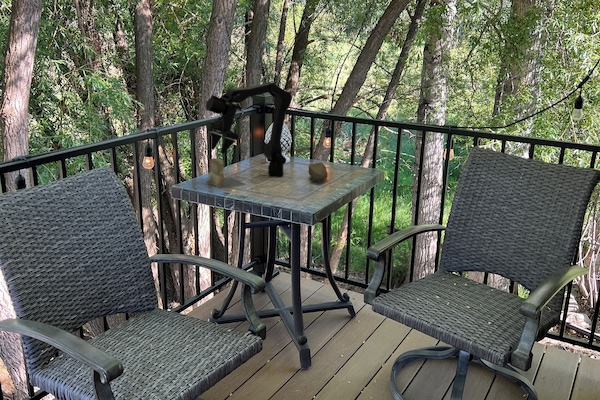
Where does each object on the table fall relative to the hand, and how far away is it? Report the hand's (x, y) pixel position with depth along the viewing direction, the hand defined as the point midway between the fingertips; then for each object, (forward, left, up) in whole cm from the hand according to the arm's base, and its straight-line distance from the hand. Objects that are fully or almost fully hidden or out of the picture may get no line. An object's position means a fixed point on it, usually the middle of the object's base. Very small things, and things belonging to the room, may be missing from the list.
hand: (217, 151), depth 253 cm
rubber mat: (-3, -2, -15) cm, 16 cm away
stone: (-43, -14, -15) cm, 48 cm away
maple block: (0, 0, -15) cm, 15 cm away
